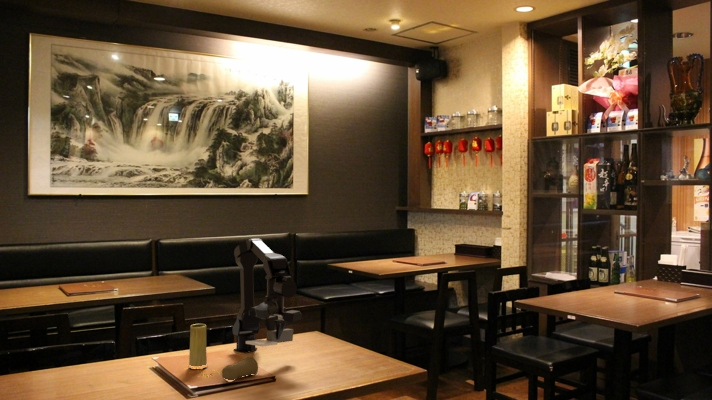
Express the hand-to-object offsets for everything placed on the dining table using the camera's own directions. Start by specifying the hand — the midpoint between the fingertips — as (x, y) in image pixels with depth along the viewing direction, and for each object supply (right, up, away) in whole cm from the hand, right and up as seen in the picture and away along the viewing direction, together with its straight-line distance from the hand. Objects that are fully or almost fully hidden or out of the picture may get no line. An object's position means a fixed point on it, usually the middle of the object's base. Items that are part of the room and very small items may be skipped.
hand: (274, 338), depth 204 cm
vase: (-26, -9, -3) cm, 27 cm away
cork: (-6, -6, -10) cm, 13 cm away
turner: (0, -1, 0) cm, 1 cm away
